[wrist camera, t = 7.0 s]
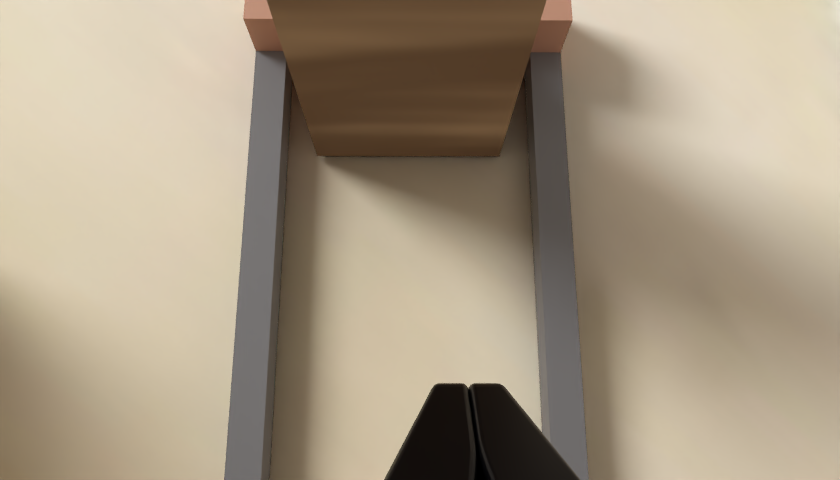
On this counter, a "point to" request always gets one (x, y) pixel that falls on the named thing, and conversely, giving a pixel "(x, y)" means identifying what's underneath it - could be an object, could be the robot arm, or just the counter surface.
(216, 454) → the counter surface
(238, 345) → the twin grey rails
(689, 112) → the counter surface
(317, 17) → the brown wooden tall block
